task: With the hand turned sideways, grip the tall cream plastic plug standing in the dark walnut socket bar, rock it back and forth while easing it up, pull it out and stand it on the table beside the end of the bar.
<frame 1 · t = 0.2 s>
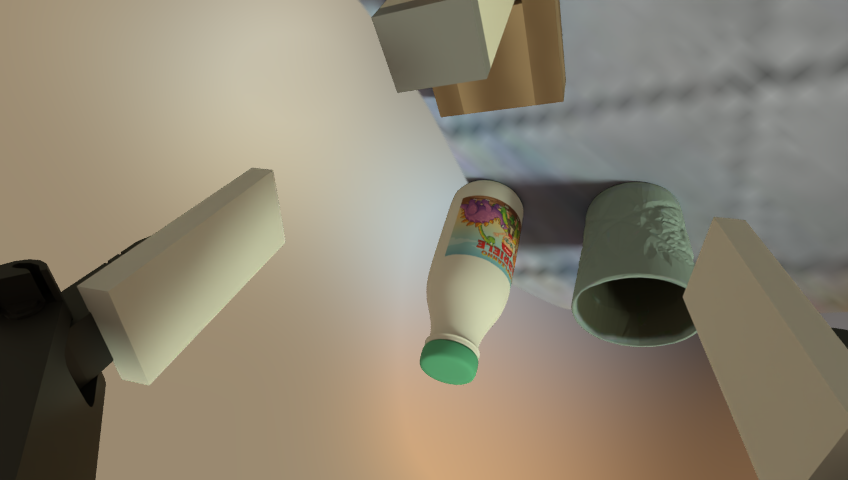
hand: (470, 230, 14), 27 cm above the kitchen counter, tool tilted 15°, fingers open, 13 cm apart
milk bottle: (488, 204, 49), on the kitchen counter
green cup: (630, 215, 45), on the kitchen counter
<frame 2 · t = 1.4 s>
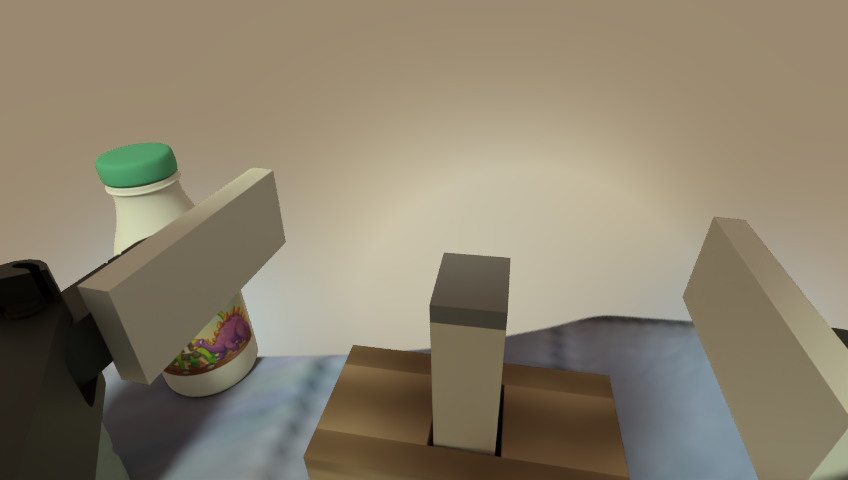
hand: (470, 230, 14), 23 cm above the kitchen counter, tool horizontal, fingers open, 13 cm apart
milk bottle: (215, 366, 41), on the kitchen counter
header: (466, 444, 33), on the kitchen counter
plug: (469, 373, 29), in the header
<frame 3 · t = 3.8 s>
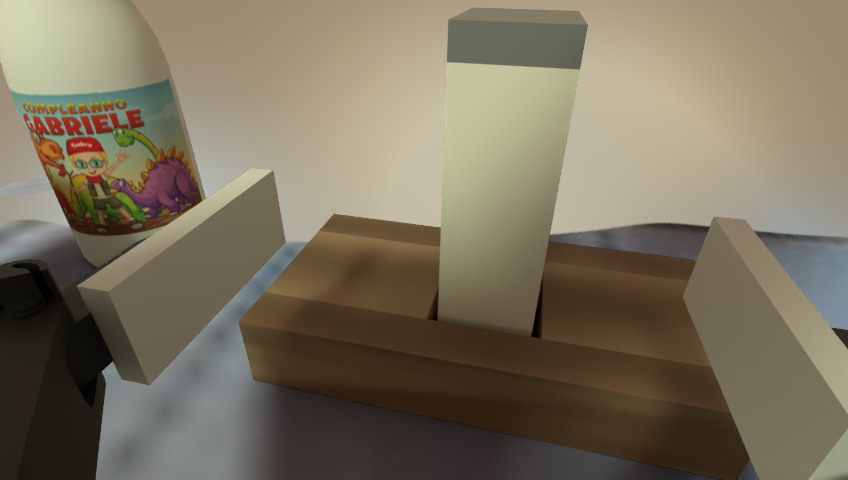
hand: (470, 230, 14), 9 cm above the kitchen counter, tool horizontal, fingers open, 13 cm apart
milk bottle: (154, 246, 31), on the kitchen counter
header: (484, 342, 23), on the kitchen counter
plug: (498, 212, 19), in the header
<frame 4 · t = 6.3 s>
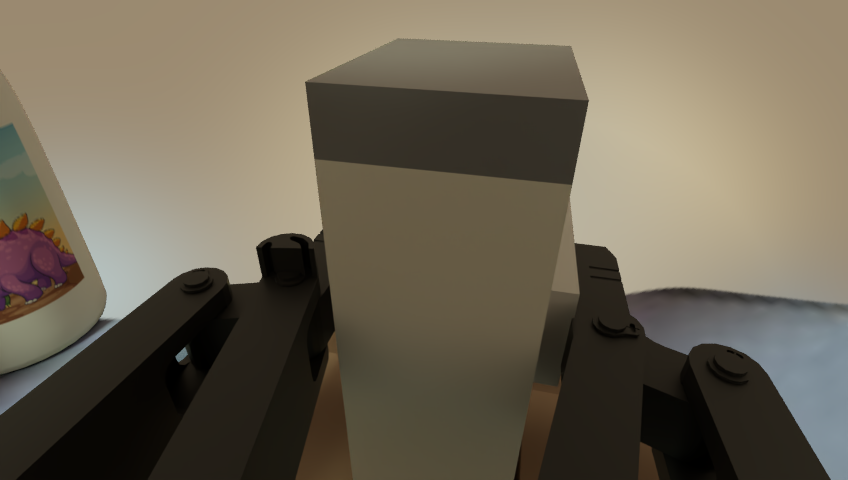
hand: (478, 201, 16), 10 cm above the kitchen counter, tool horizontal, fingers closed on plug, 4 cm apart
milk bottle: (27, 330, 24), on the kitchen counter
plug: (449, 354, 12), in the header, touching gripper
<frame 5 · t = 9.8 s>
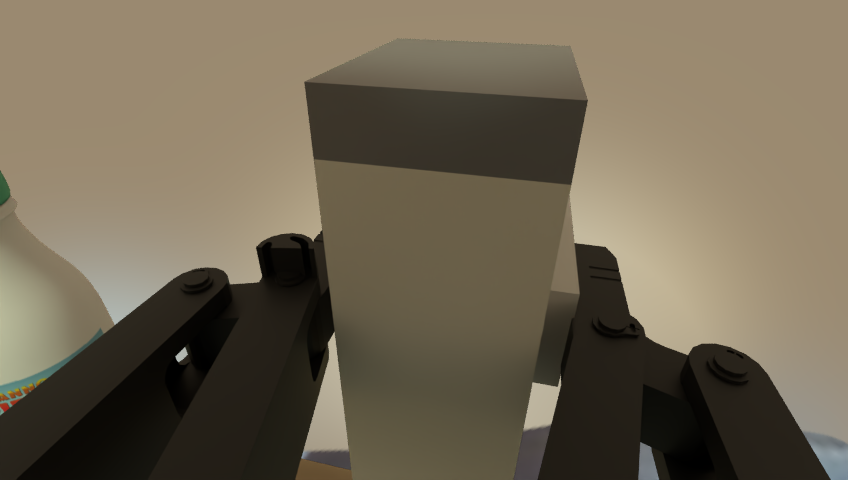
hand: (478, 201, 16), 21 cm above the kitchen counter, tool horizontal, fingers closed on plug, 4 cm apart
milk bottle: (97, 458, 30), on the kitchen counter
plug: (448, 354, 12), point 19 cm above the kitchen counter, touching gripper
when the fingers open (11 cm above the kitchen counter, at t = 13.3 s): plug drops 2 cm, on the kitchen counter.
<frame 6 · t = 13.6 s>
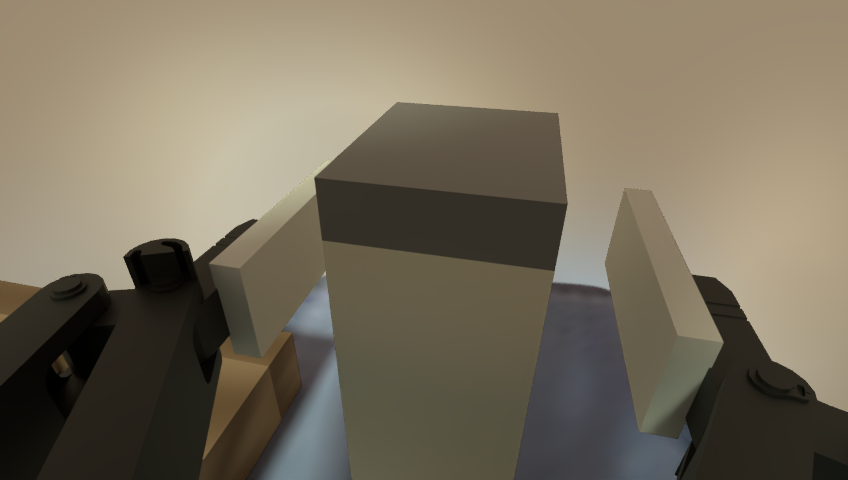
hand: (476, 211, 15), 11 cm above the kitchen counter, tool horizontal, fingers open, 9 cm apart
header: (45, 429, 20), on the kitchen counter
plug: (445, 393, 13), on the kitchen counter
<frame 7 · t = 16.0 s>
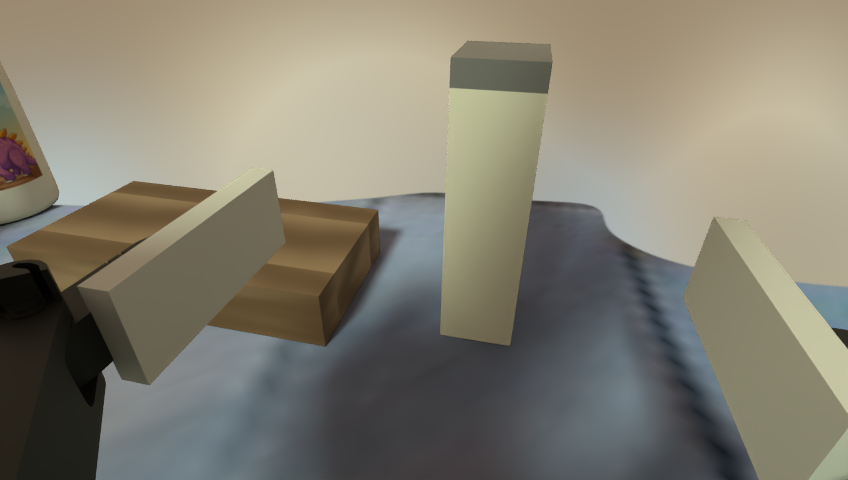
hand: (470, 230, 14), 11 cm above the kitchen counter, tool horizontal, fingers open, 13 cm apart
milk bottle: (8, 210, 39), on the kitchen counter
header: (219, 271, 31), on the kitchen counter
plug: (490, 202, 24), on the kitchen counter
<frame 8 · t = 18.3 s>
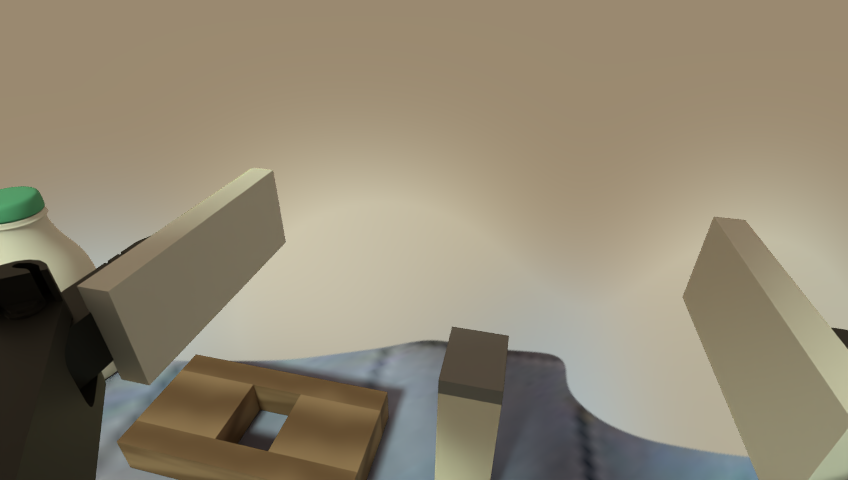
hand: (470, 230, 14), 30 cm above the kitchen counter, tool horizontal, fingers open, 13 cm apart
milk bottle: (92, 365, 49), on the kitchen counter
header: (266, 440, 41), on the kitchen counter
plug: (468, 429, 34), on the kitchen counter
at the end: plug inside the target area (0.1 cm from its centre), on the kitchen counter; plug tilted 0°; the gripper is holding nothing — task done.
